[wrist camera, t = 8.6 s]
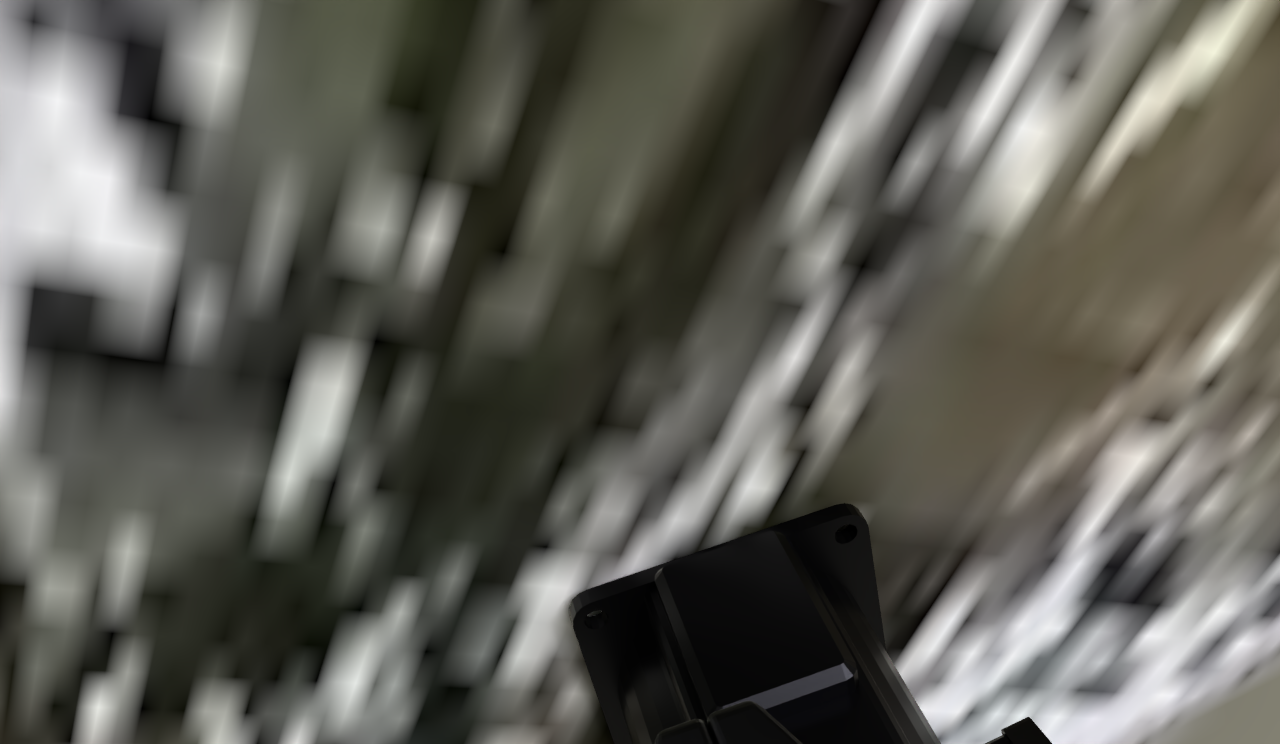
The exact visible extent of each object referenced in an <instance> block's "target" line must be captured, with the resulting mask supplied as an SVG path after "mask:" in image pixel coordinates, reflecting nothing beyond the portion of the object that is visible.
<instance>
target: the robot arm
mask: <svg viewBox="0 0 1280 744" xmlns="http://www.w3.org/2000/svg"><path fill="white" fill-rule="evenodd" d="M848 524H849V525H848ZM844 525H848V526H847V527H846V528H845V529H844V530H842V531H840V532H836V531H837V530H838V529H839V528H840V527H842V526H844ZM598 610H601V611H602V612H601V613H599V614H597V615H596V616H587V615H588V614H589V613H591V612H593V611H598ZM569 612H570V618H571V621H572V625H573V628H574V631H575V634H576V637H577V640H578V642H579V645H580V648H581V651H582V654H583V657H584V659H585V662H586V665H587V668H588V671H589V674H590V676H591V679H592V682H593V685H594V688H595V691H596V693H597V696H598V699H599V702H600V705H601V708H602V710H603V713H604V716H605V719H606V722H607V725H608V727H609V730H610V733H611V736H612V739H613V742H614V744H941V743H940V741H939V740H938V738H937V736H936V735H935V733H934V731H933V730H932V728H931V726H930V725H929V723H928V721H927V719H926V718H925V716H924V714H923V713H922V711H921V709H920V708H919V706H918V704H917V703H916V701H915V699H914V698H913V696H912V694H911V693H910V691H909V689H908V688H907V686H906V684H905V683H904V681H903V679H902V678H901V676H900V674H899V672H898V671H897V669H896V667H895V666H894V664H893V662H892V661H891V659H890V657H889V656H888V654H887V652H886V648H885V641H884V634H883V626H882V619H881V612H880V605H879V598H878V591H877V584H876V577H875V570H874V563H873V556H872V549H871V542H870V535H869V528H868V525H867V522H866V520H865V519H864V517H863V516H862V514H861V513H860V511H859V510H858V508H856V507H855V506H853V505H851V504H845V503H844V504H838V505H834V506H831V507H828V508H825V509H822V510H820V511H817V512H814V513H811V514H808V515H805V516H802V517H799V518H796V519H793V520H790V521H787V522H784V523H781V524H779V525H776V526H773V527H770V528H767V529H764V530H761V531H758V532H755V533H752V534H749V535H746V536H743V537H740V538H737V539H735V540H732V541H729V542H726V543H723V544H720V545H717V546H714V547H711V548H708V549H705V550H702V551H699V552H696V553H694V554H691V555H688V556H685V557H682V558H679V559H676V560H673V561H670V562H667V563H664V564H661V565H658V566H655V567H652V568H650V569H647V570H644V571H641V572H638V573H635V574H632V575H629V576H626V577H623V578H620V579H617V580H614V581H611V582H608V583H606V584H603V585H600V586H597V587H594V588H591V589H588V590H586V591H584V592H582V593H580V594H578V595H577V596H576V597H575V598H574V599H573V600H572V602H571V605H570V607H569ZM1001 731H1002V736H1000V737H998V738H996V739H994V740H992V741H990V742H987V743H985V744H1052V743H1051V742H1050V740H1049V739H1048V738H1047V737H1046V736H1045V735H1044V733H1043V732H1042V731H1041V730H1040V729H1039V728H1038V726H1037V725H1036V724H1035V723H1034V722H1033V721H1032V719H1031V718H1030V717H1027V718H1025V719H1023V720H1021V721H1019V722H1017V723H1014V724H1012V725H1010V726H1008V727H1006V728H1004V729H1002V730H1001Z"/></svg>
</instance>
